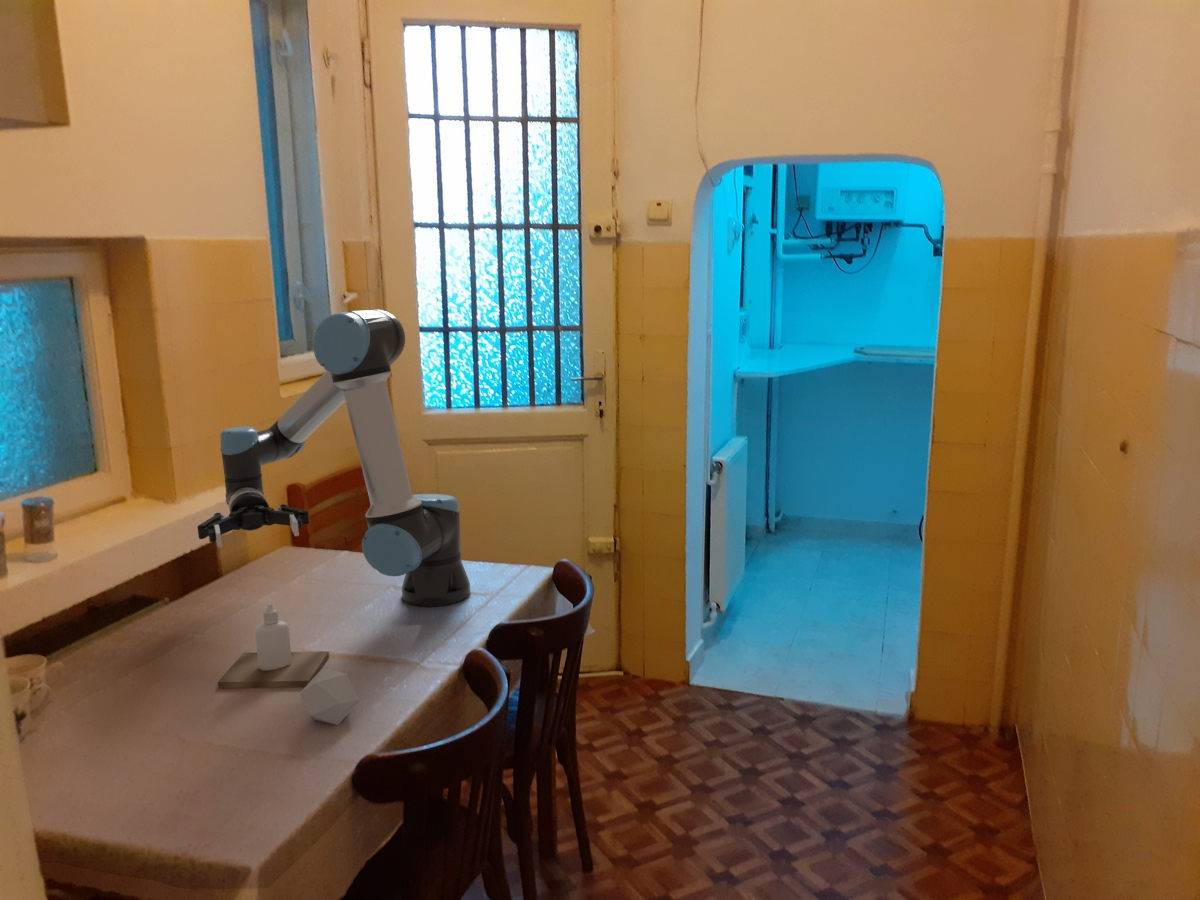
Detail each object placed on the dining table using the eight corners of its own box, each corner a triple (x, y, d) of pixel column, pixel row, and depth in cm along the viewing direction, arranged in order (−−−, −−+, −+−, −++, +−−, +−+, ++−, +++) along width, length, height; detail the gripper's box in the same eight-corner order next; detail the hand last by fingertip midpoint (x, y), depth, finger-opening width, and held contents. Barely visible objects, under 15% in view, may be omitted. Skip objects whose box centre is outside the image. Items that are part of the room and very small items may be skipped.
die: (370, 715, 145) (354, 660, 148) (352, 715, 137) (335, 657, 140) (324, 735, 145) (309, 679, 148) (303, 735, 136) (287, 676, 139)
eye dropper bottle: (263, 661, 161) (257, 600, 159) (294, 660, 162) (289, 599, 159) (256, 671, 157) (250, 609, 154) (287, 670, 157) (282, 608, 155)
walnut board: (329, 657, 165) (328, 651, 165) (309, 687, 154) (308, 680, 153) (244, 658, 165) (243, 652, 165) (218, 688, 153) (217, 682, 153)
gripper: (312, 517, 188) (328, 543, 169) (185, 535, 177) (187, 564, 159) (309, 484, 187) (325, 506, 168) (181, 499, 176) (182, 525, 157)
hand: (258, 534), depth 163 cm, fingers open, 13 cm apart
